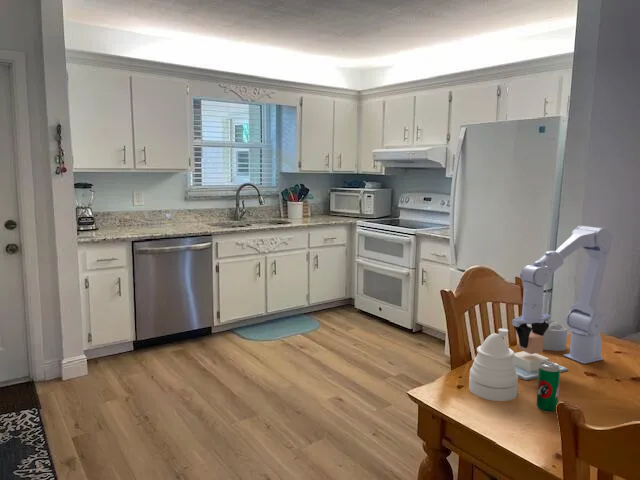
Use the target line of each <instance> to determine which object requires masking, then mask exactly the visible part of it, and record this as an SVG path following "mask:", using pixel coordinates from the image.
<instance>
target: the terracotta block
mask: <svg viewBox="0 0 640 480" xmlns="http://www.w3.org/2000/svg"><path fill="white" fill-rule="evenodd" d="M543 338H544V336H541V335H538V334H536V333H533V332H530V335H529V340H528V346H527V348H524V347H522V346H520V341H519V340H518V345H517V346H518V347H517V349H518V350H520V351H521V352H522V351H524V352H527V353H529V354H534V353H537V354H539V353H543V350H544V349H543Z"/></svg>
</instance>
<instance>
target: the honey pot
mask: <svg viewBox="0 0 640 480" xmlns="http://www.w3.org/2000/svg"><path fill="white" fill-rule="evenodd" d="M508 333H509V329H508V328H498V333H492V334H489V335H488V336H487V337H486V338H485V340H484V341H483V343H482V344H481V345H479V346H478V347H476V351H477V354H476V356H475V357H474V359H473V363H472V366H471V367H470V369H469V379H468V388H469V391H470V392H471V393H472V394H473V395H475V396H477V397H479V398H481V399H485V400H489V401H495V402H496V401H498V402H507V401H512V400H514V399H515V398H516V397H517V396H518V385H519V384H518V382H519V377H518V375H517V373H516V369H515V367H514V366H515V364H514V362H513V360H512V357H514V354H515V353H516V352H515V351H514V350H512V349H511V348H510V347H508V345H507V343H506V341H505V339H504V338H505V337H507V335H508Z"/></svg>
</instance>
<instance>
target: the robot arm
mask: <svg viewBox="0 0 640 480" xmlns="http://www.w3.org/2000/svg"><path fill="white" fill-rule="evenodd" d="M570 235H571V236H569V237H568V238H567V239H566V240H565V241H564V242H563V243H562V244H561V245H560V246H559V247H558V248H556V250H549V251H548V250H547V251H545V252H544V254H543V255H542V256H541V257H540V258H539V259H537V260H536V261H534V262H533V263H532V264H528V265H526V266H524V267H523V268H522V269H521V272H520V274H519V277H520V280H521V281H522V288H523V291H522V292H523V294H522V295H523V296H522V311H521V315H520V316H518V317H516V318H513V319H512V320H511V326H513V327H514V329H515V332H516V333H517V336H518V342H519V341H520V346H522V347H524V348H527V346H528V340H529V335H530V332H531V330H532V332H533V333H536V334H538V335H541V336H543V335H544V333H545V331H546V330H547V328H548V327H549V324H548V323H545V321H550V319H551V320H552V317H551V315H550V314H548V313H543V306H544V305H543V304H544V289H545V285H547V284H548V282H549V281H550V278H551V277H552V275H553V273H555V272H556V271H557V270H558V269H559V268H560V267H562V266H563V265H564V259H566V258H567V257H569V256H570V255H571V254H573V253H575V252H576V251H578V250H579V249H580V248H582V249H583V250H584V251H586V253H587V255H588V256H589V257H588V259H587V260H588V261H587V265H586V270H585V273H584V276H583V277H584V278H583V283H582V287H581V290H580V291H581V292H580V295H579V300H578V301H577V302H576V303H574V304H572V305H571V307H570V310H569V312H568V313H567V315H566V319H565V321H566V324H567V326H568V327H569V330H570V331H571V332H570V343H569V353H564V354H563V357H565V358H568V359H570V360H573V361H576V362H578V363H580V364H583V365H584V364H589V363H594V362H597V361H602V360H604V357H602V346H603V338H602V336H601V334H600V333H601V332H602V330H603V328H604V321H603V319H604V313H603V311H602V310H601V309H600V307H599V306H598V303H599V299H600V295H601V291H602V287H603V282H604V278H605V275H606V274H605V273H606V270H607V265H608V261H609V256H610V252H611V248H612V244H613V240H614V236H613V234H612V232H611V231H610V229H609V228H607V227H597V226H587V225H583V224H580V225H578V226H577V227H576V228H574V229H573V230H572V231H571V234H570ZM527 324H531V326H532V328H530V327H528V326H527Z"/></svg>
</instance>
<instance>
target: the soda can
mask: <svg viewBox="0 0 640 480" xmlns="http://www.w3.org/2000/svg"><path fill="white" fill-rule="evenodd" d="M559 365H560V364H558V363H556V362H553V361H551V362H548V361H544V362H541V365H540V366H539V372H538V378H537V390H536V391H537V392H536V401H535V402H536V403H535V405H536V406H537V408H538V409H539V410H540V411H543V412H548V413H553V412H555V411H557V410H556V405H557V403H558V404H559V396H560V395H559V393H560V383H561V382H560V381H561V379H560V378H561V372H560V368H559Z"/></svg>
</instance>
